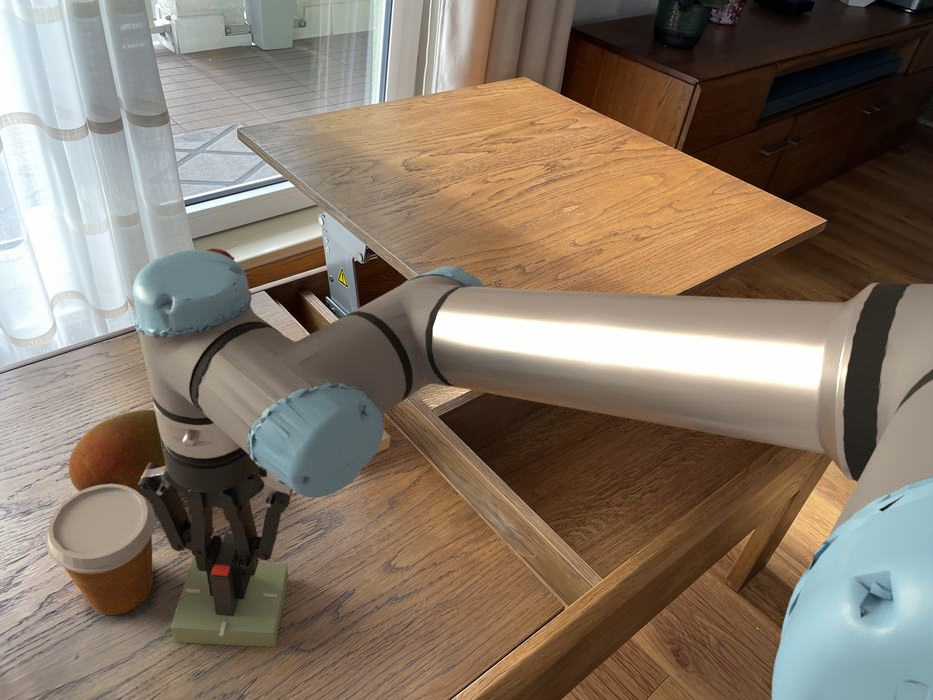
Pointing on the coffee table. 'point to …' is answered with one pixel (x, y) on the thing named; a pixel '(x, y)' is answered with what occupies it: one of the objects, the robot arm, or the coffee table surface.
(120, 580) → the disposable coffee cup
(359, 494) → the coffee table surface
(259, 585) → the dial base
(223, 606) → the dial knob
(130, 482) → the fruit
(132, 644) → the coffee table surface
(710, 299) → the robot arm
